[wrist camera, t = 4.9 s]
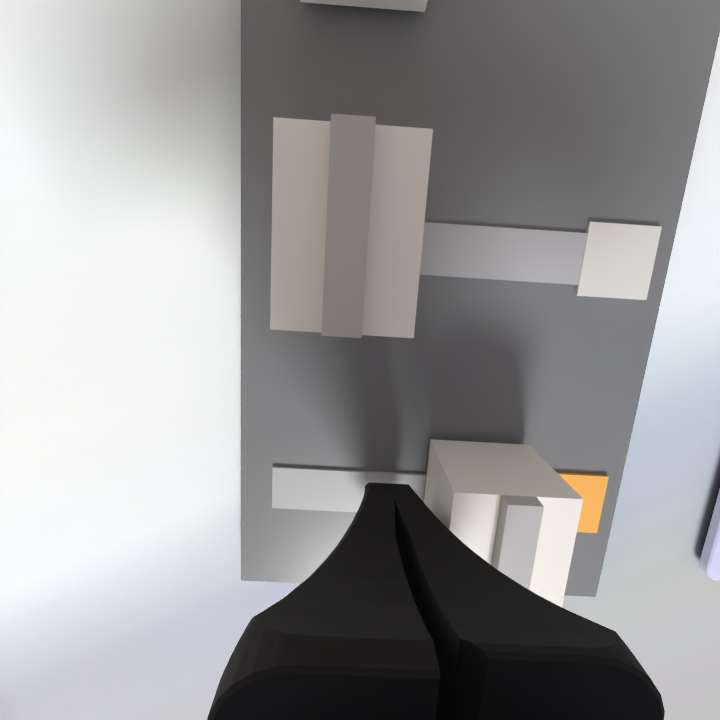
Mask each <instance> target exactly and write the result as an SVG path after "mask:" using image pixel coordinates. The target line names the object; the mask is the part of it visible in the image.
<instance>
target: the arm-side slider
mask: <svg viewBox="0 0 720 720" xmlns="http://www.w3.org/2000/svg"><path fill="white" fill-rule="evenodd" d="M424 503H425V504H426V506H427V507H428V508H429V509H430V510H431V511H432V512H433V514H434V515H435V516H436V517H437V518H438V519H439V520H440V521H441V522H442V523H443V524H444V525H445V526H446V527H447V528H448V529H449V530H450V531H451V532H452V533H453V534H454V535H455V536H456V537H457V538H458V539H460V540H461V541H462V542H463V543H464V544H465V545H466V546H467V547H469V548H470V549H471V550H472V551H473V552H475V553H476V554H477V555H479V556H480V557H481V558H482V559H484V560H485V561H486V562H488V563H489V564H490V565H492V566H493V567H494V568H496V569H497V570H499V571H500V572H502V573H503V574H505V575H506V576H508V577H509V578H511V579H512V580H514V581H516V582H517V583H519V584H520V585H522V586H523V587H525V588H527V589H529V590H530V591H532V592H534V593H535V594H537V595H539V596H541V597H543V598H545V599H547V600H548V601H550V602H552V603H554V604H556V605H558V606H560V607H562V604H563V599H564V594H565V589H566V584H567V579H568V574H569V569H570V564H571V559H572V554H573V549H574V544H575V539H576V534H577V529H578V524H579V519H580V514H581V509H582V504H583V498H582V497H581V496H580V495H579V494H578V493H577V492H576V491H575V490H574V489H573V488H572V487H571V486H570V485H569V484H568V483H567V482H566V481H565V480H564V479H563V478H562V477H561V476H560V475H559V474H558V473H557V472H556V471H555V470H554V469H553V468H552V467H551V466H550V465H549V464H548V463H547V462H546V461H545V460H544V459H543V458H542V457H541V456H540V455H539V454H538V453H537V452H536V451H535V450H534V449H533V448H532V447H531V446H530V445H525V444H507V443H489V442H470V441H452V440H434V439H431V440H430V449H429V459H428V468H427V477H426V487H425V496H424Z"/></svg>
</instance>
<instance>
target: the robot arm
mask: <svg viewBox="0 0 720 720" xmlns="http://www.w3.org/2000/svg"><path fill="white" fill-rule="evenodd" d="M699 566H700V568H701V570H702V571H703V572H704V573H705V574H706V575H707V576H709V577H710V578H711V579H713V580H720V490H719V493H718V497H717V501H716V504H715V508H714V511H713V515H712V519H711V522H710V526H709V529H708V533H707V537H706V540H705V544H704V547H703V551H702V555H701V558H700V564H699ZM664 712H665V711H664V707H663V703H662V698H661V694H660V693H659V691H658V690H657V688H656V687H655V685H654V683H653V682H652V680H651V679H650V677H649V676H648V675H647V673H646V672H645V670H644V669H643V667H642V666H641V665H640V663H639V662H638V660H637V659H636V658H635V656H634V655H633V653H632V652H631V651H630V649H629V648H628V647H627V646H626V644H625V643H624V642H623V640H622V639H621V638H620V637H619V635H618V634H617V633H616V632H615V631H613V630H611V629H608V628H606V627H604V626H601V625H599V624H597V623H595V622H592V621H590V620H588V619H586V618H583V617H581V616H579V615H577V614H574V613H572V612H570V611H568V610H566V609H564V608H562V607H560V606H558V605H556V604H554V603H552V602H550V601H548V600H547V599H545V598H543V597H541V596H539V595H537V594H535V593H534V592H532V591H530V590H529V589H527V588H525V587H523V586H522V585H520V584H519V583H517V582H516V581H514V580H512V579H511V578H509V577H508V576H506V575H505V574H503V573H502V572H500V571H499V570H497V569H496V568H494V567H493V566H492V565H490V564H489V563H488V562H486V561H485V560H484V559H482V558H481V557H480V556H479V555H477V554H476V553H475V552H473V551H472V550H471V549H470V548H469V547H467V546H466V545H465V544H464V543H463V542H462V541H461V540H460V539H458V538H457V537H456V536H455V535H454V534H453V533H452V532H451V531H450V530H449V529H448V528H447V527H446V526H445V525H444V524H443V523H442V522H441V521H440V520H439V519H438V518H437V517H436V516H435V515H434V514H433V512H432V511H431V510H430V509H429V508H428V507H427V506H426V504H425V503H424V502H423V501H422V500H421V499H420V497H419V496H418V495H417V494H416V493H415V491H414V490H413V489H412V488H411V487H410V485H409V484H392V483H373V482H369V483H368V484H366V485H365V492H364V496H363V499H362V502H361V505H360V507H359V509H358V511H357V513H356V515H355V517H354V519H353V521H352V523H351V524H350V526H349V528H348V529H347V531H346V533H345V534H344V536H343V537H342V539H341V540H340V542H339V543H338V545H337V546H336V547H335V549H334V550H333V551H332V552H331V554H330V555H329V556H328V557H327V558H326V560H325V561H324V562H323V563H322V564H321V565H320V566H319V567H318V568H317V569H316V570H315V571H314V572H313V573H312V574H311V575H310V576H309V577H308V578H307V579H306V580H305V581H304V582H303V583H301V584H300V585H299V586H298V587H297V588H295V589H294V590H293V591H292V592H291V593H290V594H288V595H287V596H286V597H285V598H283V599H282V600H280V601H279V602H277V603H275V604H274V605H272V606H271V607H269V608H268V609H266V610H264V611H263V612H261V613H260V614H258V615H256V616H254V617H253V618H252V619H251V621H250V622H249V624H248V626H247V627H246V629H245V631H244V633H243V634H242V636H241V638H240V640H239V642H238V644H237V645H236V647H235V649H234V651H233V653H232V655H231V657H230V659H229V662H228V664H227V666H226V668H225V670H224V673H223V675H222V677H221V680H220V682H219V685H218V688H217V691H216V694H215V697H214V700H213V703H212V706H211V709H210V712H209V715H208V719H207V720H664Z"/></svg>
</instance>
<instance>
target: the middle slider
mask: <svg viewBox="0 0 720 720" xmlns="http://www.w3.org/2000/svg"><path fill="white" fill-rule="evenodd" d="M375 123H376V117H372V116H358V115H344V114H331V121H318V120H305V119H291V118H277V117H273V174H272V237H271V301H270V330H287V331H303V332H319V333H322V334H321V336H334V337H350V338H362V335H369V336H385V337H402V338H414V330H415V319H416V308H417V298H418V287H419V276H420V265H421V254H422V243H423V233H424V222H425V211H426V200H427V189H428V179H429V168H430V157H431V146H432V135H433V129H428V128H414V127H401V126H387V125H375Z"/></svg>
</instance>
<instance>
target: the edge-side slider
mask: <svg viewBox="0 0 720 720" xmlns="http://www.w3.org/2000/svg"><path fill="white" fill-rule="evenodd" d="M300 2H306V3H318V4H331V5H343V6H356V7H368V8H381V9H393V10H406V11H418V12H425V9H426V6H427V2H428V0H300Z"/></svg>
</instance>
